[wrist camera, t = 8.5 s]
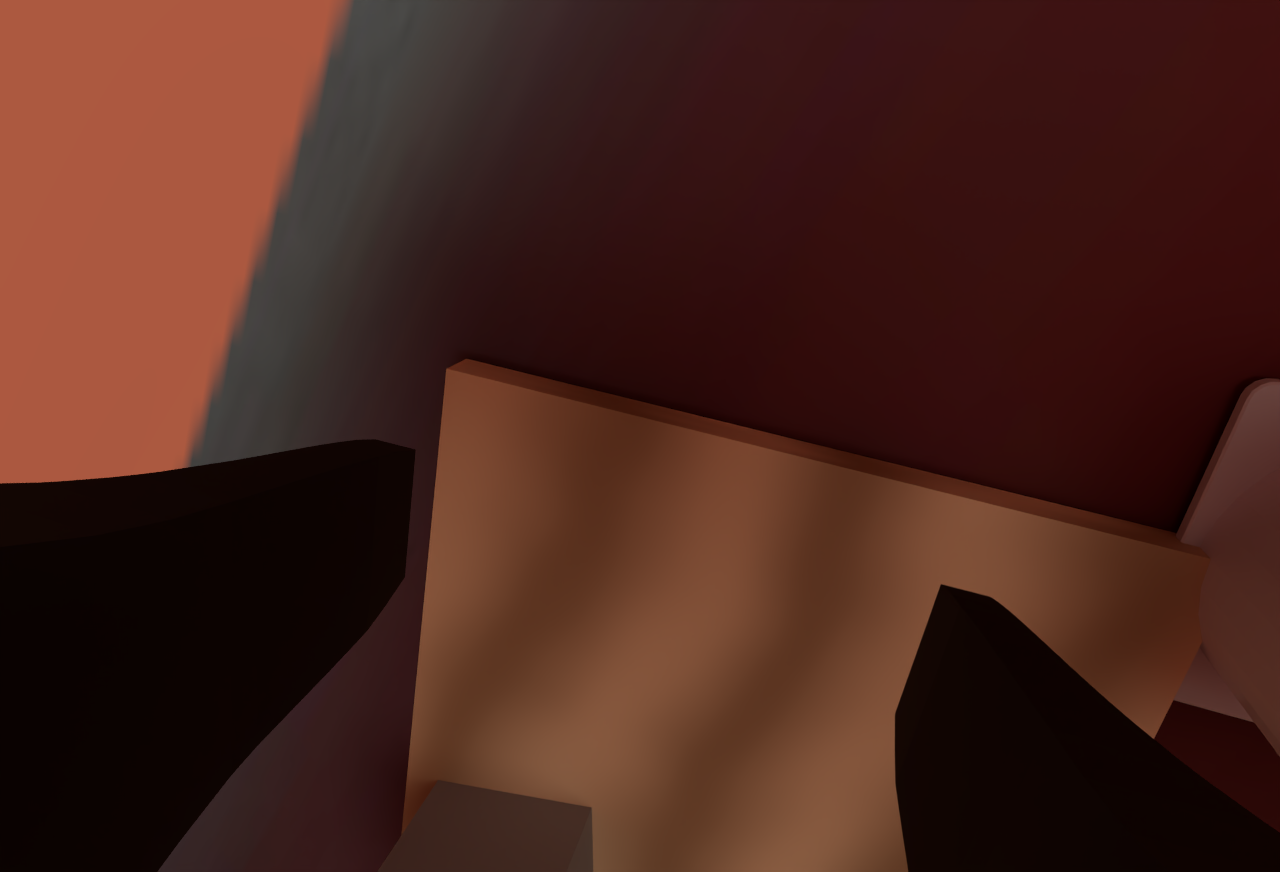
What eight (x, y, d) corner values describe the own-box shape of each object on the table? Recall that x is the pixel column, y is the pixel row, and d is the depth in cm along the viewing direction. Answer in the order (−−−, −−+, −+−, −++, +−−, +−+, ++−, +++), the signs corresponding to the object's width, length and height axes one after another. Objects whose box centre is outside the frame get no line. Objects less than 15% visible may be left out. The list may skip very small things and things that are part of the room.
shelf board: (1217, 543, 19) (1298, 625, 16) (932, 1132, 27) (946, 1274, 23) (466, 358, 22) (396, 393, 19) (405, 935, 30) (348, 1035, 26)
